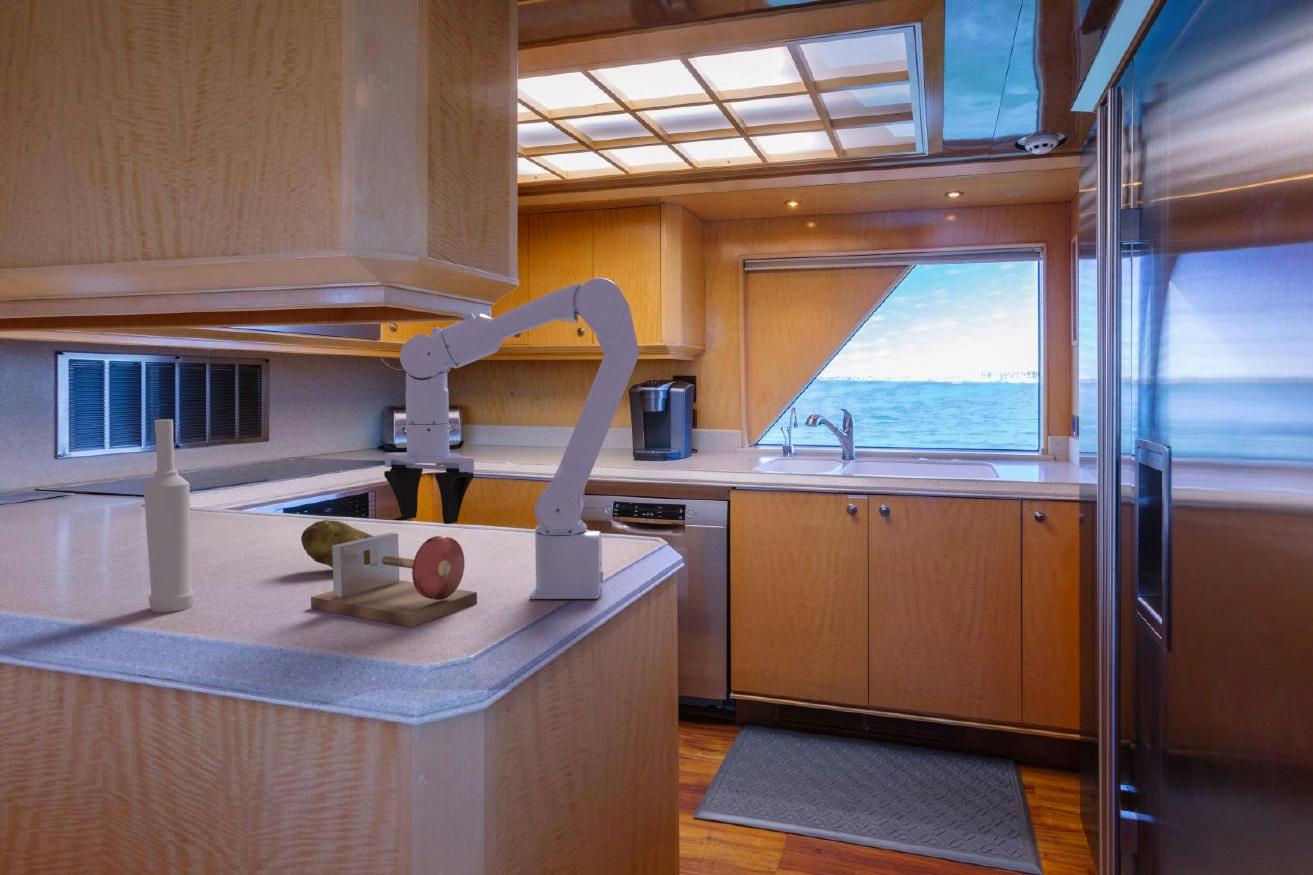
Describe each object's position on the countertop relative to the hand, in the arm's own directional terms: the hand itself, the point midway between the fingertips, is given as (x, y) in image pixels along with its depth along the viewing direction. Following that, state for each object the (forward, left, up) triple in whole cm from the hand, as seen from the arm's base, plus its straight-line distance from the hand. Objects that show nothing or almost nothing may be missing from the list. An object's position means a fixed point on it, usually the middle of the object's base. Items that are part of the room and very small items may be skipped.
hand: (429, 520), depth 113 cm
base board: (+3, +6, -11) cm, 12 cm away
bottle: (+33, +6, -11) cm, 35 cm away
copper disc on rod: (0, +7, -8) cm, 11 cm away
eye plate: (+8, +3, -9) cm, 12 cm away
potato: (+18, -15, -11) cm, 25 cm away
